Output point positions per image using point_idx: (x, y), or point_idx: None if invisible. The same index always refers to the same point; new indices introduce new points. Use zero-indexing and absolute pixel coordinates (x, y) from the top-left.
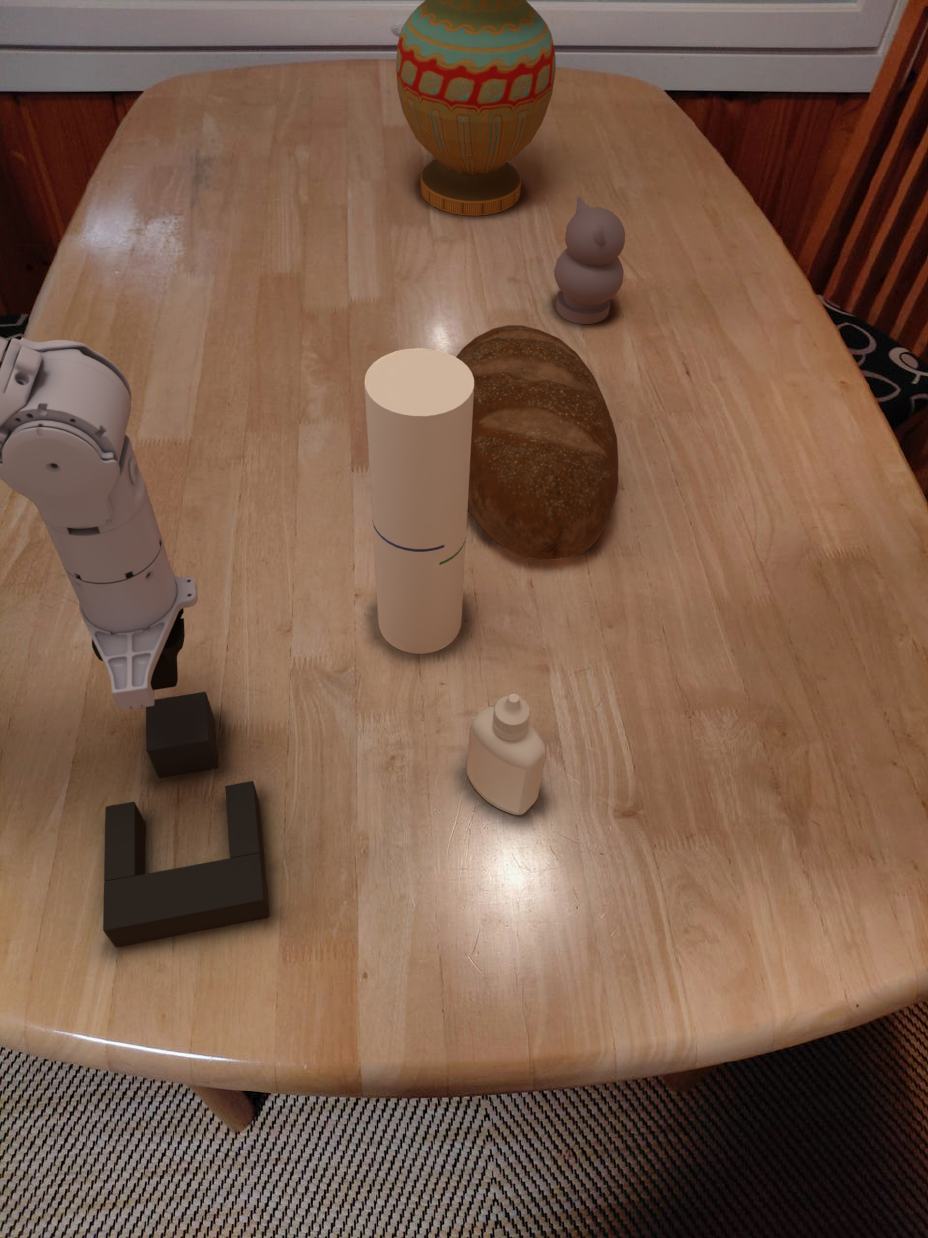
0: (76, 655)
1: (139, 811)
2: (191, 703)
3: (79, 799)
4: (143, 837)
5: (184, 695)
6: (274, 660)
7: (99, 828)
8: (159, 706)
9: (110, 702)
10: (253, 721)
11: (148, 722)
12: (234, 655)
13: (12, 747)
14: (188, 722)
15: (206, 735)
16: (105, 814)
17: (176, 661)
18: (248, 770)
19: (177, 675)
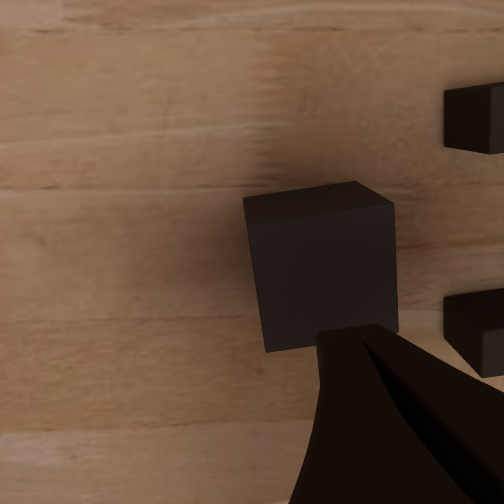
0: (92, 454)
1: (466, 313)
2: (281, 254)
3: None
4: (484, 295)
5: (257, 273)
6: (78, 73)
7: None
8: (285, 323)
9: (195, 386)
10: (250, 114)
11: None
12: (70, 170)
13: (277, 500)
14: (337, 254)
15: (379, 208)
16: (498, 375)
17: (457, 383)
18: (370, 117)
19: (406, 340)
